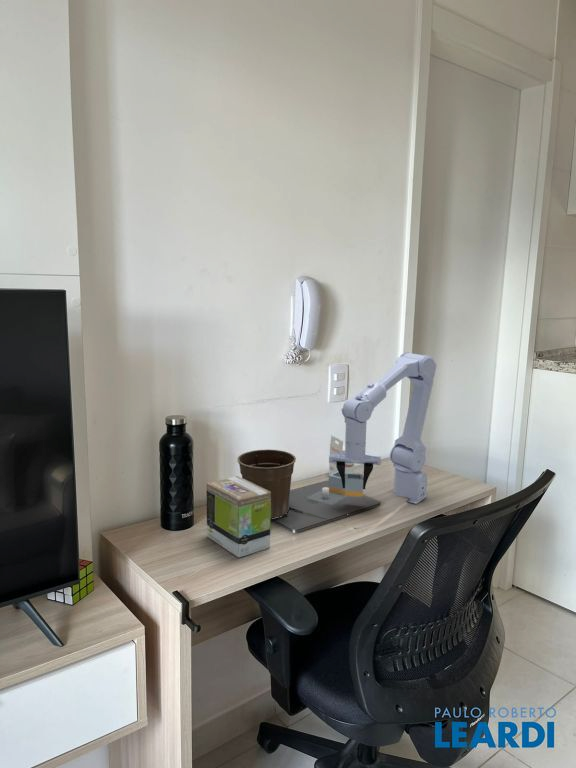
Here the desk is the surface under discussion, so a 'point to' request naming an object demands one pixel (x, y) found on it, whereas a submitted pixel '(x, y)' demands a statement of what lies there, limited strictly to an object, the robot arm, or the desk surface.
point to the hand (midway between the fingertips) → (353, 487)
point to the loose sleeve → (354, 484)
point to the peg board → (327, 501)
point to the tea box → (238, 515)
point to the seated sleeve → (335, 483)
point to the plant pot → (270, 475)
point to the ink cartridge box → (338, 449)
